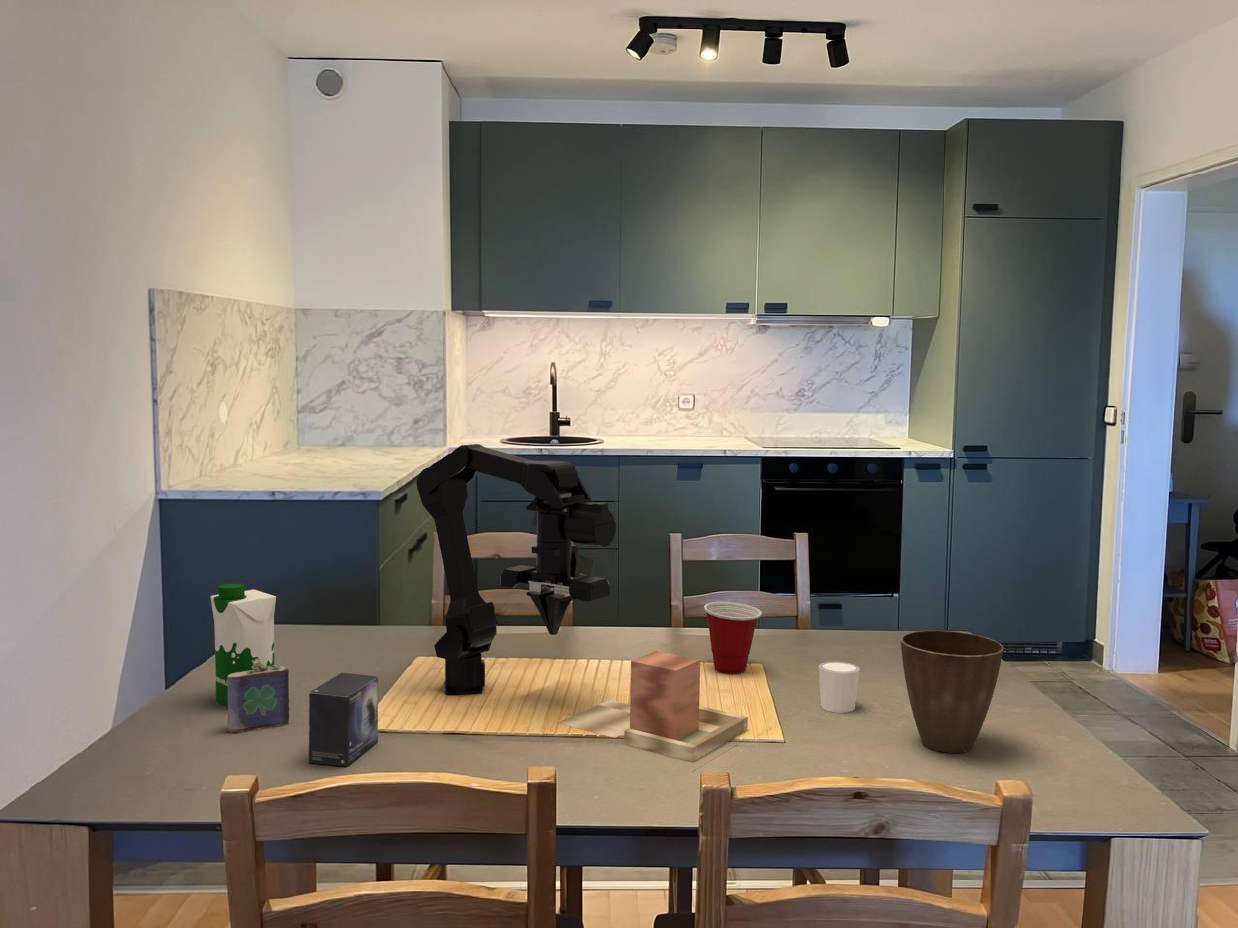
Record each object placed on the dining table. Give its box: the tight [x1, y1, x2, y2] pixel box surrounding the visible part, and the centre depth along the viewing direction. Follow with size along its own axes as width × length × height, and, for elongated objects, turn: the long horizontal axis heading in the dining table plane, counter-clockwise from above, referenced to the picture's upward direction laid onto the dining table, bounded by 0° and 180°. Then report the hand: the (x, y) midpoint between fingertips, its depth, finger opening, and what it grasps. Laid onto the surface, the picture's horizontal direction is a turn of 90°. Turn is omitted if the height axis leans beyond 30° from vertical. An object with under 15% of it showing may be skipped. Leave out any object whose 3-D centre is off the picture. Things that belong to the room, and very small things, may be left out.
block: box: [629, 650, 701, 741], centre depth 162 cm, size 8×7×11 cm
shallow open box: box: [556, 699, 749, 772], centre depth 164 cm, size 25×16×4 cm, turn 55°
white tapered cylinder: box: [818, 661, 861, 714], centre depth 179 cm, size 7×7×7 cm
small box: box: [307, 672, 379, 767], centre depth 155 cm, size 11×6×10 cm, turn 168°
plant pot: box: [900, 630, 1005, 754], centre depth 162 cm, size 15×15×16 cm
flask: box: [227, 658, 290, 734], centre depth 166 cm, size 9×3×11 cm, turn 121°
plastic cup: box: [703, 601, 763, 675], centre depth 199 cm, size 11×11×12 cm
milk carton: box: [210, 582, 277, 708], centre depth 177 cm, size 9×9×20 cm
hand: (553, 634), depth 174 cm, fingers closed
